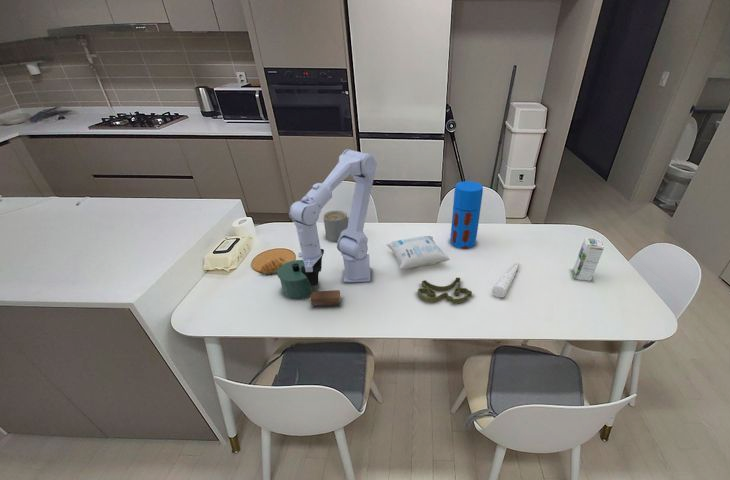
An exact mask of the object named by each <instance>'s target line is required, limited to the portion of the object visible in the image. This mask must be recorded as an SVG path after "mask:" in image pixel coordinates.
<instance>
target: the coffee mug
mask: <svg viewBox="0 0 730 480" xmlns="http://www.w3.org/2000/svg"><path fill="white" fill-rule="evenodd" d="M349 217H350V216H348V213H347V212H346V211H343V210H335V209H334V210H330V211H327V212H325V213H324V214H323V215H322V218H323V224H324V230H325V239H326V240H328V241H330V242H334V243H337V242H338V240H339V238H340V235H341V232H342V231H343V230H345V229H347V227H348V222H349Z"/></svg>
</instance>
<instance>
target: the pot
mask: <svg viewBox="0 0 730 480" xmlns="http://www.w3.org/2000/svg"><path fill="white" fill-rule="evenodd" d="M279 281H280V284H281V289H282V291H283V295H284V296H285V297H287V298H288V299H291V300H301V299H306V298H308V297H311V295H312V291H318V285H317V286H311V284H310V282H309V281H308V279H305V280H302V281H298V282H286V281H283V280H281V279H279Z"/></svg>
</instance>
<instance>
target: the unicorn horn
mask: <svg viewBox="0 0 730 480" xmlns="http://www.w3.org/2000/svg"><path fill="white" fill-rule="evenodd" d="M518 269H519V263H516V264H515V265H514V266H513V267H512V268H511V269H509V270H508V272H506V274H504V276H502V277H501V279H499V281H498V282H496V284H495V285H494V286H493V287H492V289H491V292H492V294H493V296H495V297H496V298H499V299H502V298H504V297H505V296H506V295H507V293H508V291H509V288H510V287H511V285H512V283H513V280H514V278H515V275H516V273H517V271H518Z"/></svg>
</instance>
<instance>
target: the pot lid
mask: <svg viewBox="0 0 730 480" xmlns="http://www.w3.org/2000/svg"><path fill="white" fill-rule="evenodd" d="M302 266H305V264H304V261H303V259H295V260H291V261H287V262H286V263H285V264H284V265H282V266H281V267H280V268H279V269H278V271H277V273H276V275H277V277H278V279H279V280H280V279H281V280H283V281H286V282H298V281H302V280H305V279H307V277H306V276H305V275H304V274H303V273H302V272H301V267H302Z"/></svg>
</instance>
